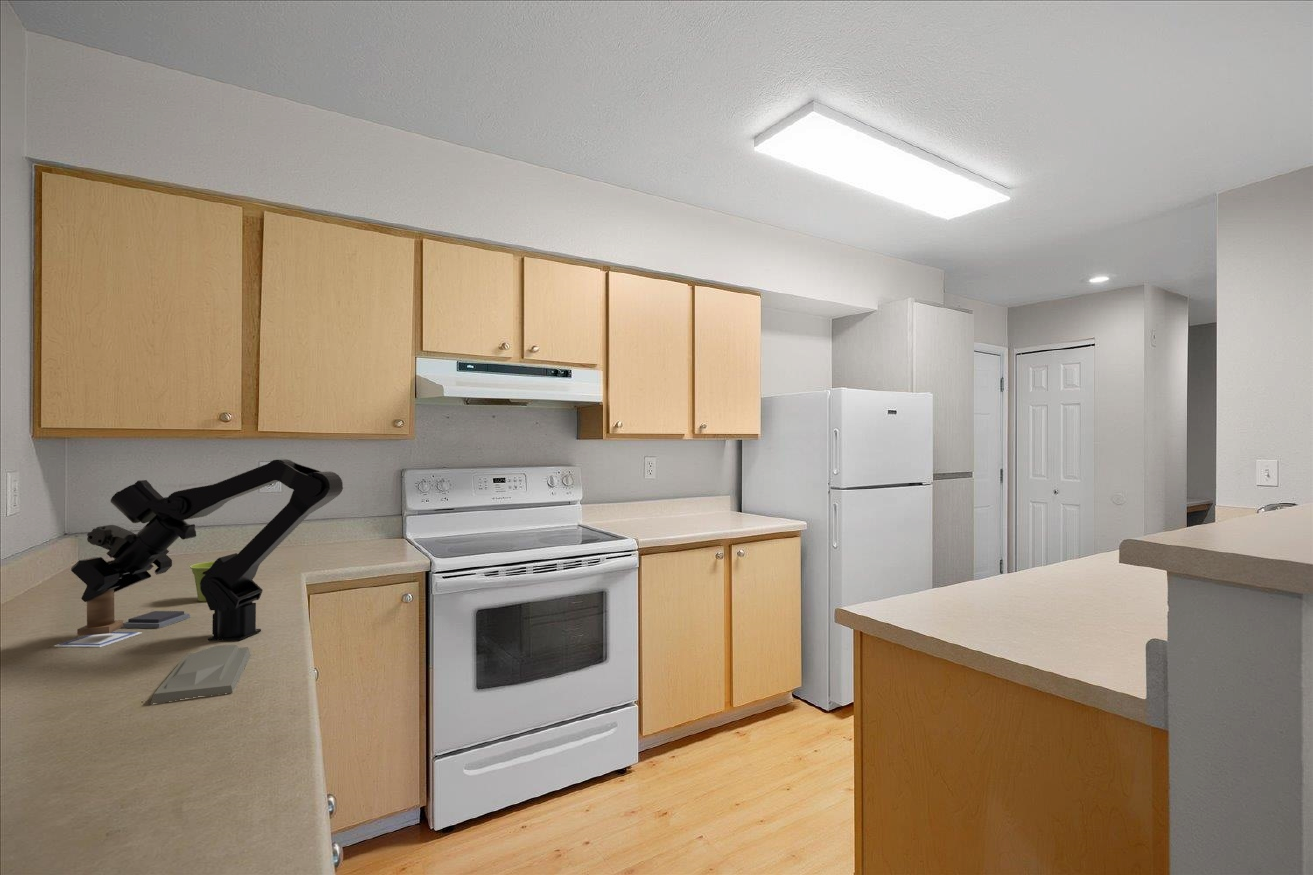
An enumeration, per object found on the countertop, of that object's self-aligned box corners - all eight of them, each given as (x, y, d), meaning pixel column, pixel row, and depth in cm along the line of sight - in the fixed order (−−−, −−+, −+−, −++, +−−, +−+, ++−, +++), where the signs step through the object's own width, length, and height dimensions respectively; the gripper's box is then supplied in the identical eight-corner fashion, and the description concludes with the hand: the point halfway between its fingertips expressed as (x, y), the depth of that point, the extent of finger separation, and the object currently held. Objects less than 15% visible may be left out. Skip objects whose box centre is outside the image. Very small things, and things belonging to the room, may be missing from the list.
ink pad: (189, 617, 136) (189, 610, 136) (159, 628, 128) (159, 620, 128) (154, 617, 137) (154, 610, 137) (121, 627, 129) (122, 619, 129)
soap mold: (147, 709, 89) (148, 685, 89) (183, 666, 107) (183, 645, 107) (233, 697, 94) (233, 673, 94) (253, 657, 112) (253, 637, 112)
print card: (141, 633, 125) (141, 631, 125) (99, 647, 116) (99, 645, 116) (99, 632, 125) (99, 630, 125) (53, 646, 116) (53, 644, 116)
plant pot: (211, 604, 148) (212, 568, 148) (179, 602, 150) (180, 566, 150) (245, 595, 157) (245, 561, 157) (214, 593, 159) (214, 560, 159)
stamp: (123, 626, 124) (122, 564, 124) (109, 633, 119) (108, 569, 119) (92, 628, 122) (92, 566, 122) (77, 636, 117) (76, 571, 118)
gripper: (157, 506, 131) (101, 560, 129) (82, 516, 112) (16, 578, 111) (196, 543, 131) (140, 597, 130) (128, 558, 112) (63, 621, 111)
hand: (93, 597), depth 120 cm, fingers closed on stamp, 4 cm apart
